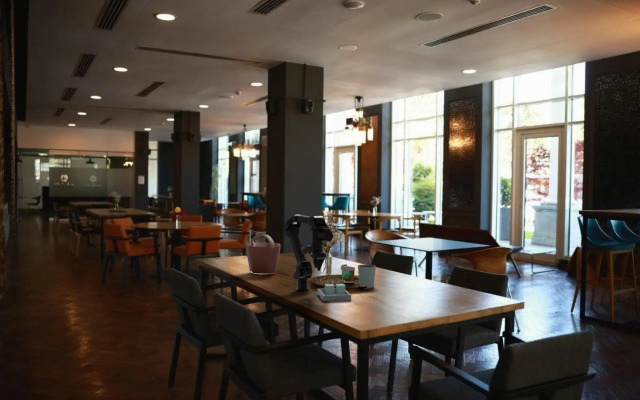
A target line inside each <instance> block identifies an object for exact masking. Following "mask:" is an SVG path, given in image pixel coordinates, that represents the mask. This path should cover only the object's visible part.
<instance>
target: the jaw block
mask: <svg viewBox="0 0 640 400" xmlns="http://www.w3.org/2000/svg"><path fill="white" fill-rule="evenodd" d="M334 288H335V285H334V284H333V283H331V284H330V283H328V284H326V283H325V284H324V289H325V295H334Z"/></svg>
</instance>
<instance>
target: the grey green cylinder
mask: <svg viewBox="0 0 640 400" xmlns="http://www.w3.org/2000/svg"><path fill="white" fill-rule="evenodd" d="M376 269H377V267H376V265H374V264H358V265H357V274H358V286H359V285H365V286H366V287H367V288H366V289H374V287H375V279H376V278H375V276H376Z"/></svg>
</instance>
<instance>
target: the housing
mask: <svg viewBox="0 0 640 400" xmlns="http://www.w3.org/2000/svg"><path fill="white" fill-rule="evenodd" d="M318 295H319V296H320V297H319V296H318ZM317 296H318V297H319V298H320V300H321V301H322V300H323V301H335V302H351V301H352V294H351V293H350V292H349V291H348V290H346V284H344V283H336V284H335V287H334V295H325V288H317ZM323 301H322V302H323Z"/></svg>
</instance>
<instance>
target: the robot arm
mask: <svg viewBox="0 0 640 400" xmlns="http://www.w3.org/2000/svg"><path fill="white" fill-rule="evenodd" d="M302 224H306V225H308V226H309V227H311V228H310V229H309V231H310V232H311V242H310V244H308V245H305V246H302V244H301V240H300V237H299V234H300V228H301V226H302ZM282 229H283V231H284V234H285V236H287V238H288V239H289V240H290V243H291V247H292V251H293V254H294V257H295V259H296V265H295V271H294V273H293V275H292V276H293V279H294V280H296V281H297V282H296V283H297V284H296V285H297V286H296V287H295V289H296V291H297V290H304V291H309V290H308V289H309V284H308V283H309V281H308V280H309V279H311V278H312V275H313V267H314V269H317V272H321V269H322V266H323V264H324V262H325V261H326V258H327V253H326V252H324V249H323V247H324V246H323V245H324V242H327V243H328V242H331V241H333V239H334V233H333V232H332V230H331V228H330V227H328V224H327V222H326V220H325V218H324V216H323V215H316V216H315V215H314V216H308V215H304V214H303V215H302V214H293V215H292V216H291V218H289V219H287V221H286V222H285V223H284V225H283V228H282ZM307 254H308V255H309V256H310V257H311V258H312V263H313V266H312V263H311V261H310V260H307V259H306V256H305V255H307Z"/></svg>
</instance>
